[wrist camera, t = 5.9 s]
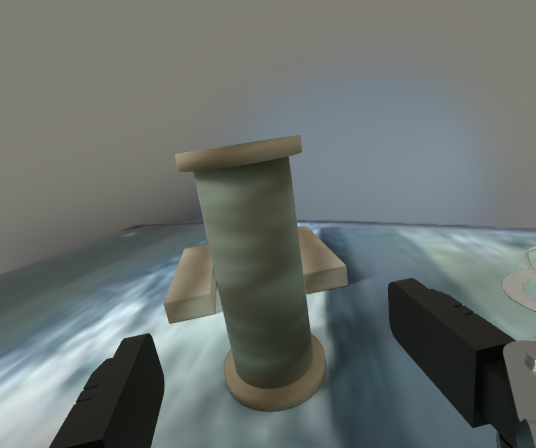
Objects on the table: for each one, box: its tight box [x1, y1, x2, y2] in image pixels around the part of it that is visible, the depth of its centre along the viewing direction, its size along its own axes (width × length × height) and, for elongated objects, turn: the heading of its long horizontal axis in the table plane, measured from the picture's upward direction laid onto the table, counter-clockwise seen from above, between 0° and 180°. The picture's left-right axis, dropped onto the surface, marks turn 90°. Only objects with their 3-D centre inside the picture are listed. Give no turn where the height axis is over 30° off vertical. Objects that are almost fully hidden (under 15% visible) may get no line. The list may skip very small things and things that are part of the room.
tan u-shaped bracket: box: [164, 226, 348, 324], centre depth 33 cm, size 16×14×2 cm
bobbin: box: [175, 135, 326, 411], centre depth 17 cm, size 6×6×14 cm
